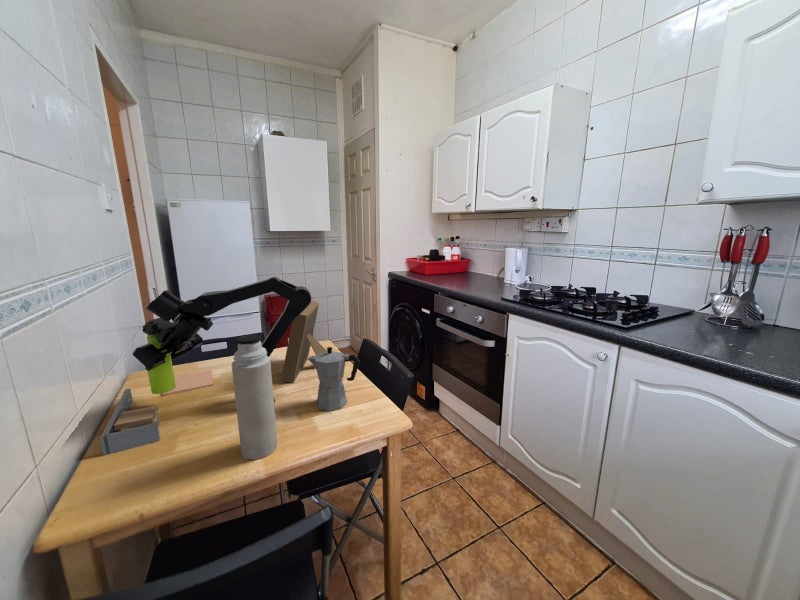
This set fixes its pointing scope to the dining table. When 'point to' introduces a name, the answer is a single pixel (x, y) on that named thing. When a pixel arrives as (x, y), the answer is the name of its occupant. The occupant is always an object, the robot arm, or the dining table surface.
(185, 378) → the terracotta tile
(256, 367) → the thermos bottle
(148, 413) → the walnut offcuts
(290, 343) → the photo frame
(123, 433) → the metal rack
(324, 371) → the coffeepot
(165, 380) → the soap dispenser
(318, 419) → the dining table surface
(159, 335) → the robot arm
